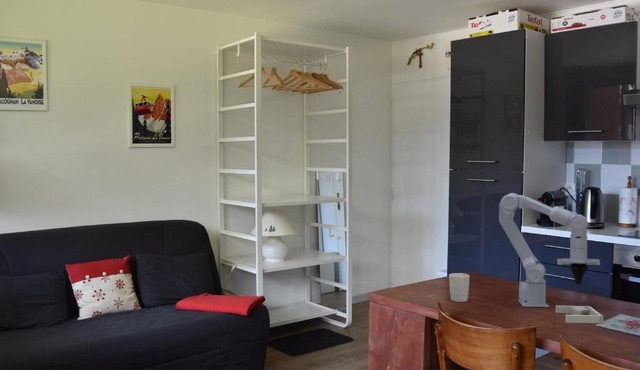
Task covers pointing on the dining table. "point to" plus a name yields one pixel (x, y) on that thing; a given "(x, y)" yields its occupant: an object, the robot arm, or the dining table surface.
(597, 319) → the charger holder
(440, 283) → the dining table surface
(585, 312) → the usb wall charger
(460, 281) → the white cup
